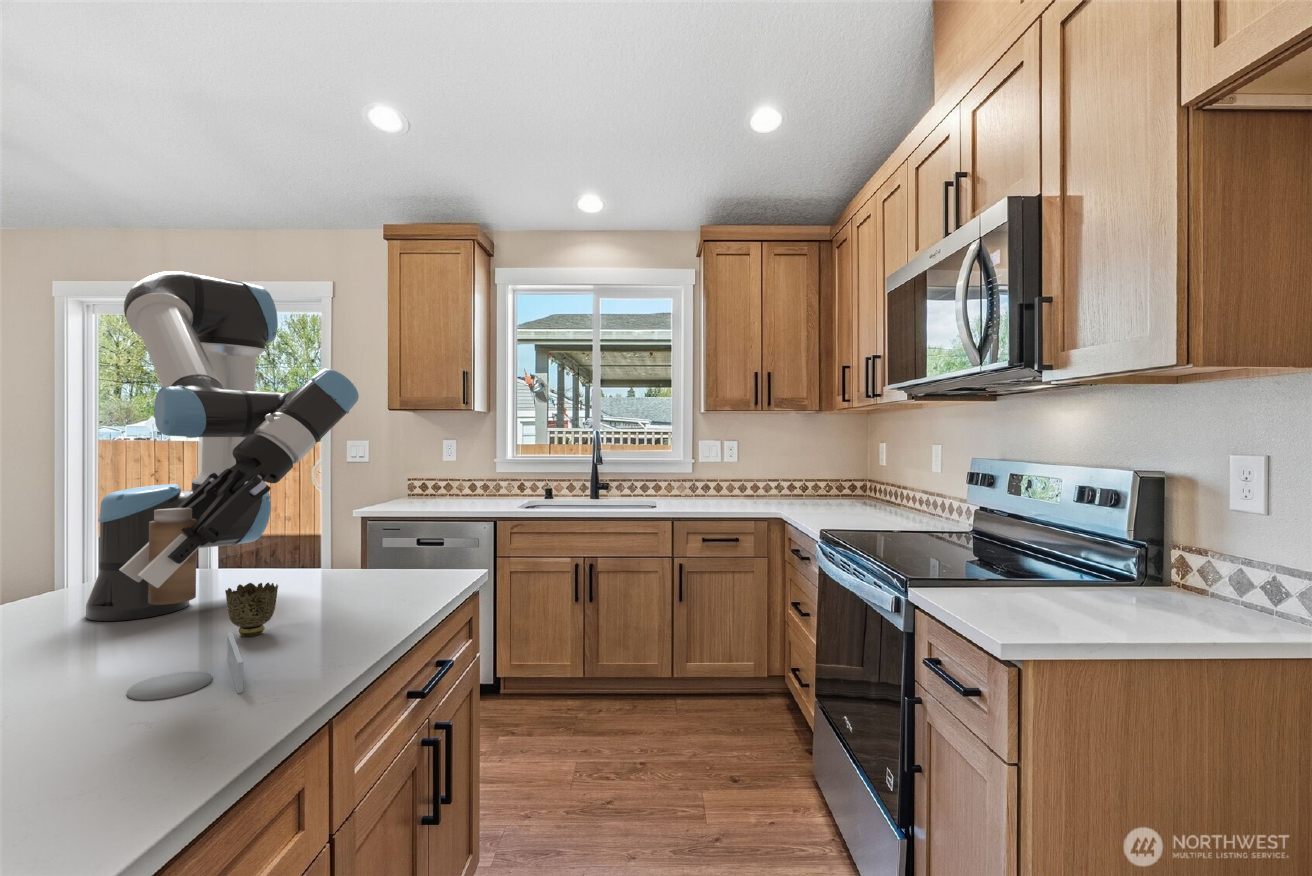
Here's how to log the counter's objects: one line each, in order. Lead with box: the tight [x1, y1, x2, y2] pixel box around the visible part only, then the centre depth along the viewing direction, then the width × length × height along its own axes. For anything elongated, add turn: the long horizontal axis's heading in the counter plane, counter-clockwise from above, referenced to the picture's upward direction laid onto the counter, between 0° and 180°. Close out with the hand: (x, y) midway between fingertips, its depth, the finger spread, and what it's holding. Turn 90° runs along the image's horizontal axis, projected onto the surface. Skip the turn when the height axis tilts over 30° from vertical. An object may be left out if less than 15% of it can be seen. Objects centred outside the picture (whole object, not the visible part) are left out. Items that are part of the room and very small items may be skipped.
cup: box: [224, 582, 279, 638], centre depth 105 cm, size 8×7×8 cm
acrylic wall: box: [226, 632, 244, 694], centre depth 87 cm, size 15×1×4 cm, turn 39°
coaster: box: [126, 670, 213, 701], centre depth 83 cm, size 9×9×1 cm
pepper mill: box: [148, 508, 197, 605], centre depth 83 cm, size 5×5×12 cm
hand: (138, 578), depth 80 cm, fingers closed on pepper mill, 5 cm apart
